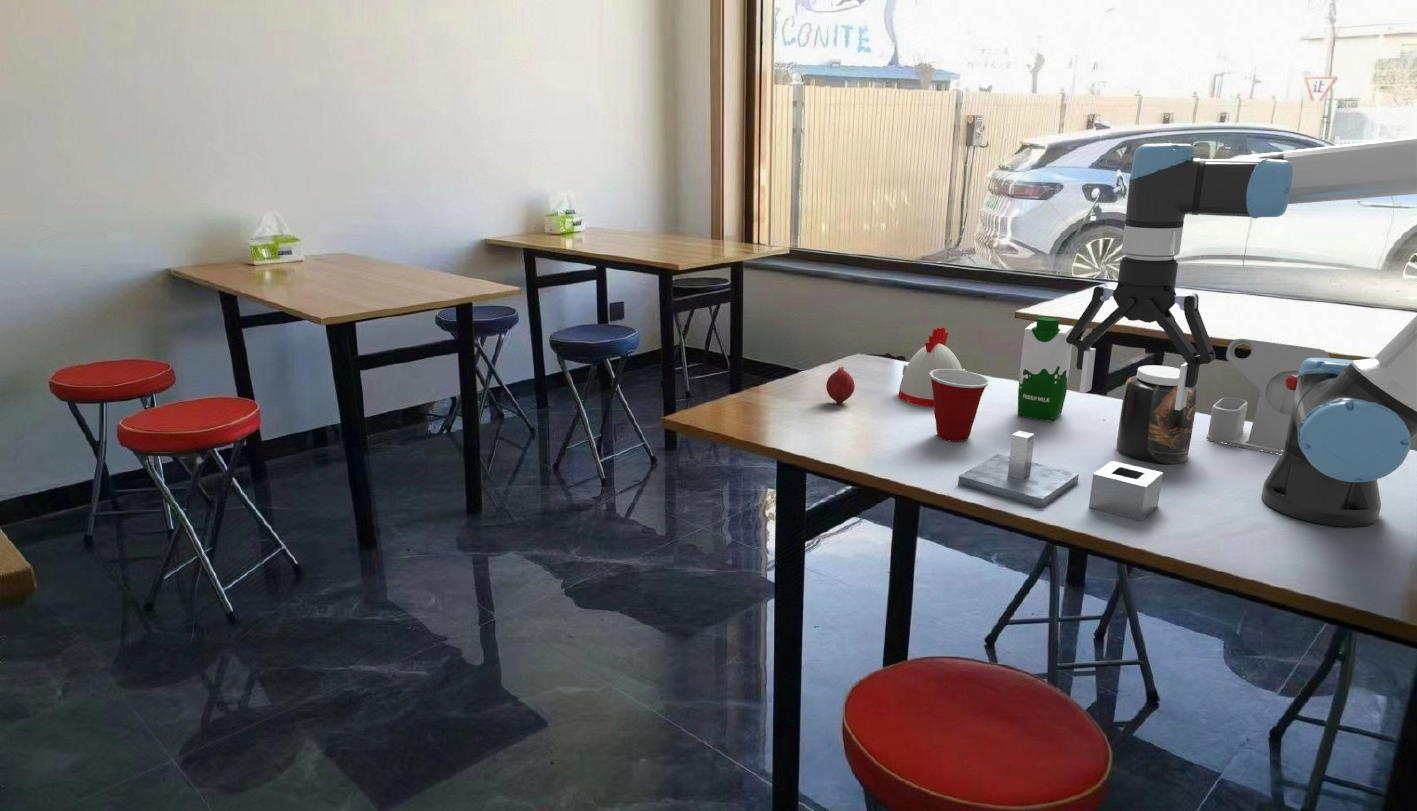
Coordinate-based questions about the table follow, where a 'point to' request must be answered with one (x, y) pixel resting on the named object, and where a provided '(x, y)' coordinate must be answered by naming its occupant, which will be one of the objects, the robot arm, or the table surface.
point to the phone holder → (1261, 396)
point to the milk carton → (1044, 369)
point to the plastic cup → (956, 401)
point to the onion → (840, 385)
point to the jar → (1155, 417)
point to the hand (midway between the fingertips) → (1131, 399)
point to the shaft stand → (1019, 475)
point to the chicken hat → (926, 369)
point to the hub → (1125, 490)
